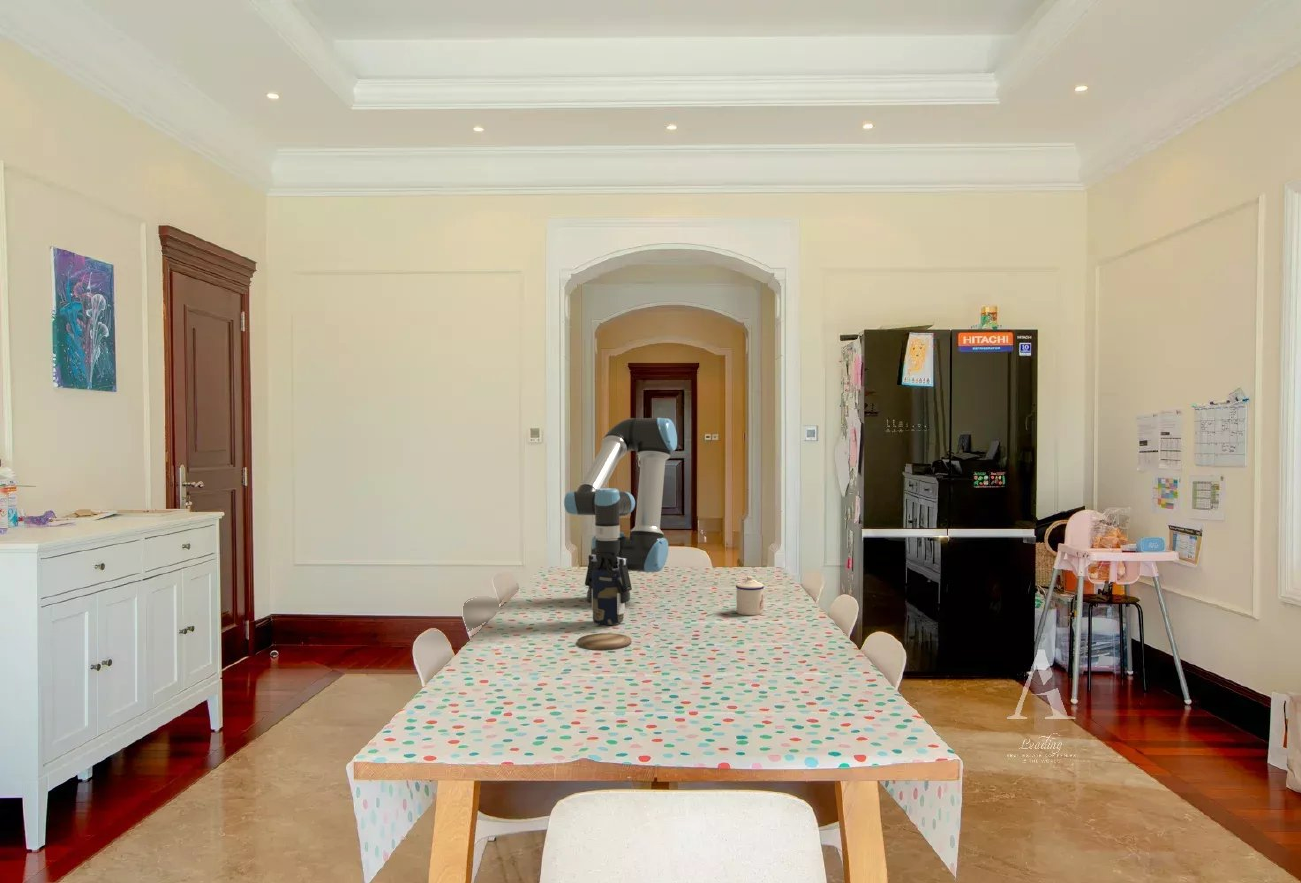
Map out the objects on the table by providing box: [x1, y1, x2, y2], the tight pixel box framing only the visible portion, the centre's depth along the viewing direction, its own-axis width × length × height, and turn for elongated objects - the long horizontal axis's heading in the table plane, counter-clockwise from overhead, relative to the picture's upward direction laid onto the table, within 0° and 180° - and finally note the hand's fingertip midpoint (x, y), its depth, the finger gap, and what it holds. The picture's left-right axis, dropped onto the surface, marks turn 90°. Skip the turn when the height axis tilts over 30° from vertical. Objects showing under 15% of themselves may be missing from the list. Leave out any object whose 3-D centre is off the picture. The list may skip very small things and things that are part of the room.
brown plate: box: [577, 632, 632, 651], centre depth 235 cm, size 15×15×1 cm
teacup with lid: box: [735, 575, 765, 616], centre depth 272 cm, size 12×9×12 cm
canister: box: [592, 567, 625, 626], centre depth 258 cm, size 10×10×18 cm
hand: (608, 611), depth 258 cm, fingers closed on canister, 9 cm apart
